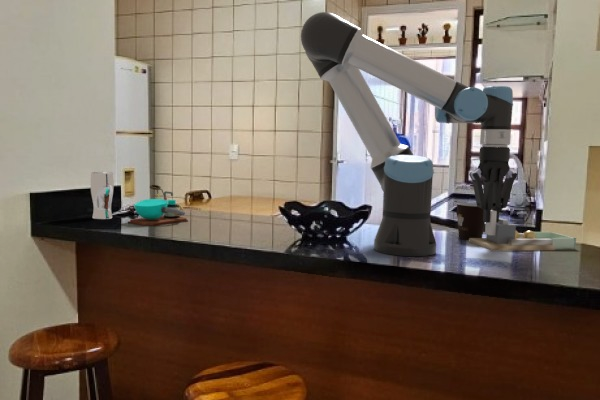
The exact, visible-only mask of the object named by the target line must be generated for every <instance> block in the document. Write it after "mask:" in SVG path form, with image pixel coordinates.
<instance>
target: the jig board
mask: <svg viewBox="0 0 600 400" xmlns="http://www.w3.org/2000/svg"><path fill="white" fill-rule="evenodd" d="M518 233H519V238H518V239H509V240H508V244H496V243H493V242H491V241H488V240H486V237H482V238H469V240H468V243H470V244H473V245H475V246H476V245H477V246H478V247H480V248H481V247H482V248H484V249H488V250H490V251H555V250H556V249H555V246H554V245H552V244H553V239H524V238H523V235H524V233H525V232H523V233H522V232H518Z"/></svg>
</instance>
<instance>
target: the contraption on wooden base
mask: <svg viewBox="0 0 600 400" xmlns="http://www.w3.org/2000/svg"><path fill="white" fill-rule="evenodd" d="M149 189H150V190H151V189H152V190H153V191H156V193H157V197H159V198H148V199H143V200H140V201H138V202H136V203H135V204H134V209H135V211H136V213H137V214H138V216H140V217H139V218H133V219H131V218H130V220H129V221H127V223H128V224H129V225H130V224H131V225H136V226H142V227H156V226H157V227H158V226H163V225H172V224H178V223H179V224H180V223H187V222H189V220H188V219H187V217H185V215H186V212H185V210H184V207H183V206H182V204H176V200H175V199H167V194H169V195H170V196H171V197H174V194H173V191H163V189H162V188H161V186H160V185H158V184H150V185H149ZM159 191H161V192H162V195H163V198H160V194H159ZM182 216H184V217H182Z"/></svg>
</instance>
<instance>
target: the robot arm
mask: <svg viewBox="0 0 600 400" xmlns="http://www.w3.org/2000/svg"><path fill="white" fill-rule="evenodd" d="M300 43H301V46H302V47H303V48H302V49H303V50H304V52H305V55H306V56H307V59H308V60H309V61H310V62H311V64H312V66H313V67H314V69H315V71H316V73H317V75H318V76H319V78H320V79H321V80H322V81H325V82H328V83H329V85H330V86H331V88H332V90H333V92H334V93H335V95H336V97H337V98H338V101H339V102H340V104H341V105H342V108H343V109H344V111H345V113H346V115H347V116H348V118H349V120H350V122H351V123H352V125H353V127H354V130H355V131H356V132H357V134H358V137H359V138H360V140H361V141H362V143H363V145H364V147H365V148H366V150H367V153H369V156H370V158H371V164H370V169H371V171H372V173H373V174H374V176H375V178H376V180H377V182H378V183H379V185H380V189H381V190H382V191H383V196H382V197H383V198H382V199H383V200H382V219H381V221H380V223H379V227H378V229H377V232H376V235H375V237H374V239H373V240H374V241H373V242H374V244H373V249H374V250H375V251H377V252H379V253H383V254H385V255H386V254H387V255H392V256H400V257H426V256H432V255H435V254H436V253H437V242H436V241H437V240H436V239H435V234H434V230H433V227H432V223H431V222H432V221H431V212H432V211H431V210H432V197H433V195H432V194H433V191H432V190H433V177H434V174H435V170H434V163H433V161H432V159H430V158H429V157H425V156H421V155H414V153H413V152H412V149H411V148H410V146H409V145H406V144H402V143H401V142H400V140H399V138H398V136H397V135H396V132H395V131H394V130H393V127H392V126H391V124H390V122H389V120H388V119H387V117H386V114H385V113H384V112H383V109H382V108H381V106H380V104H379V103H378V100H377V99H376V97H375V95H374V93H373V91H372V89H371V88H370V87H369V85H368V83H367V81H366V79H365V78H364V76H363V74H362V72H361V71H363V72H365V73H366V74H369V75H370V76H372V77H375V78H377V79H379V80H381V81H383V82H385V83H387V84H389V85H391V86H393V87H395V88H396V89H398V90H401V91H404V93H407V94H409V95H411V96H413V97H415V98H418V99H419V100H421V101H424V102H426V103H428V104H429V105H431V106H434V119H435V121H436V122H437V123H443V124H480V137H479V139H480V140H479V144H480V145H482V146H480V148H479V154H478V156H479V157H478V159H479V164H478V166H477V169H475V170H474V171H473V172H472V171H470V172H469V177H470V179H471V180H472V186H473V191H474V197H475V202H476V204H477V207H479V208H482V209H483V210H484V214H483V221H484V222H485V225H484V232H485V233H484V234H485V235H487V234H488V235H495V233H496V222H498V221H499V218H500V212H502V210H503V209H506V208H508V207H507V206H508V202H509V201H510V196H511V192H512V189H513V185H514V182H515V180H516V179H517V177H518V173H517V172H513V171H512V170H511V167H510V165H509V162H510V159H511V158H510V155H511V148H510V147H508V146H510V145H511V137H512V136H511V135H512V134H511V132H512V117H513V107H514V100H513V99H514V98H513V96H514V94H513V88H511V87H510V86H507V85H491V86H485V87H484V88H483V89H481V88H478V87H473V86H467V85H465V84H464V83H462V82H459V81H457V80H456V79H453V78H451V77H449V76H447V75H445V74H443V73H441V72H439V71H437V70H435V69H434V68H431V67H430V66H427V65H425V64H423V63H421V62H420V61H418V60H415V59H413V58H411V57H409V56H407V55H405V54H403V53H401V52H399V51H397V50H394V49H393V48H391V47H390V46H389V47H388V46H387V45H385V44H383V43H381V42H379V41H377V40H375V39H373V38H371V37H368V36H367V35H365V34H363V31H362V28H361V27H359V26H357V25H355V24H353V23H351V22H349V21H348V20H346V19H343V18H342V17H340V15H337V14H334V13H332V12H327V11H323V12H321V11H320V12H316V13H315V14H313V15H311V16H310V17H309V18H308V19H306V21H305V22H304V24H303V25H302V29H301V32H300ZM481 177H482V179H483V181H482V179H481Z"/></svg>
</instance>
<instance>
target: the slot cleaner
mask: <svg viewBox="0 0 600 400" xmlns="http://www.w3.org/2000/svg"><path fill="white" fill-rule="evenodd" d="M516 228H517V225H516V224H513V223H509V219H505V218H502V217H499V221H498V222H496V233H495V235H488V234H486V237H485V238H486V240H488V241H491V242H493V243H496V244H508V240H509V239H515V231H517V229H516Z"/></svg>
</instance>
